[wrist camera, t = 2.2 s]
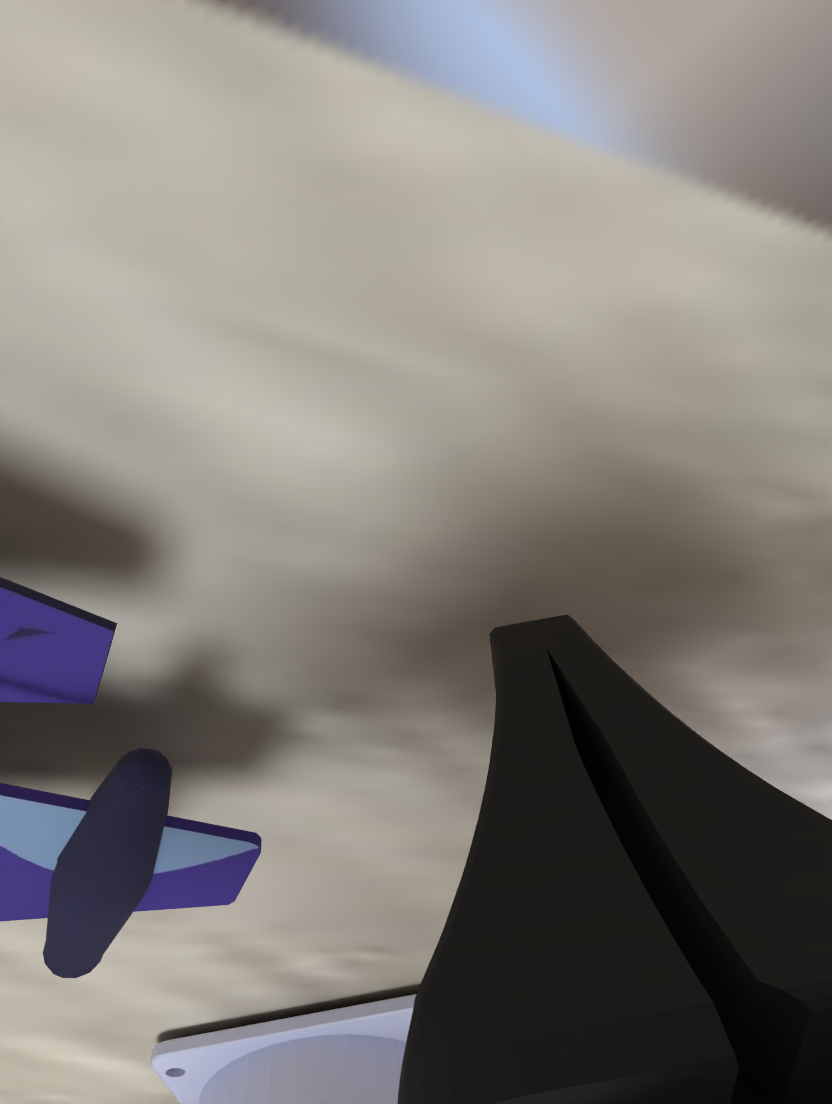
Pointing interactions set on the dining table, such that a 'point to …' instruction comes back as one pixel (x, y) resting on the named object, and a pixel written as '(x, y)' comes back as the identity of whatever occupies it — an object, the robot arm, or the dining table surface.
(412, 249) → the dining table surface
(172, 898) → the toy airplane
